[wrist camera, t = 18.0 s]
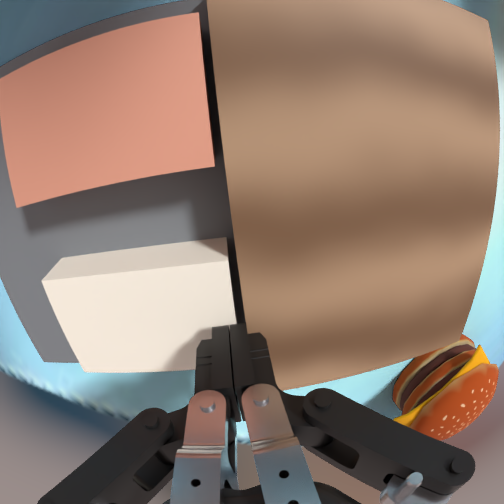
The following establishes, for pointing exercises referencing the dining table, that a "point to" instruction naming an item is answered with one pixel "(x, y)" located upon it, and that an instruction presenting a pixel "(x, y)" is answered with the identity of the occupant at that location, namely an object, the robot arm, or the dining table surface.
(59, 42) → the slate mat
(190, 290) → the cream card box
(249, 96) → the walnut board
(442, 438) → the hamburger
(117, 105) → the terracotta card box
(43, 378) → the dining table surface
